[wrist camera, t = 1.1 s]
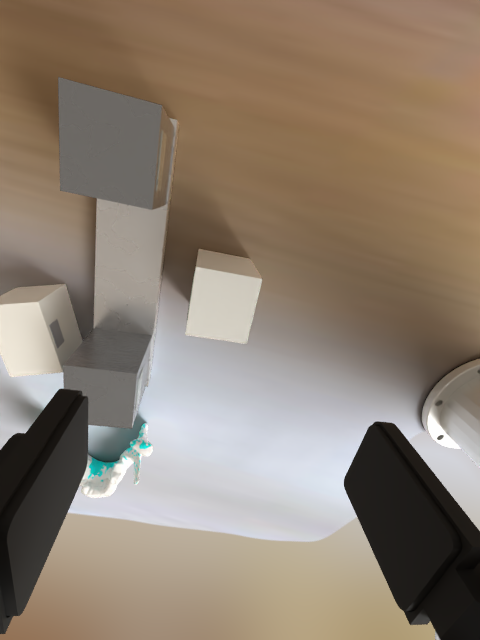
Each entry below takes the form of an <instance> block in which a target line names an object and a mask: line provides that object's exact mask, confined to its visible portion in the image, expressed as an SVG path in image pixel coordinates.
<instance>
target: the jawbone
mask: <svg viewBox="0 0 480 640" xmlns="http://www.w3.org/2000/svg"><path fill="white" fill-rule="evenodd" d="M147 430H148V424H146V423H144V424H143V425H142V426H141V430H140V432H139V436H138V439H135V440H132V441H131V442H130V446H131V447H130V448H128V449H126V450H125V451H124V452H123V454H122V455H121V456H120V459H119V460H118V461H115V462H102V461H98V460H96V459H94V458H93V457H91V456H90V455H88V462H87V467H86V471H85V473H84V476H83V478H82V480H81V483H80V486H82V489H81V492H82V493H83V494H84V495H86V496H88V497H92V498H99V497H104V496H105V497H108V496H110V495H111V494H112V493H113V492H114V491H115V489H116V487H117V484H118V483H119V482H120V481H121V480H122V478H123V476H124V474H125V473H126V469H127V468H128V467H129V466H130V465H131V464H132V463H133V462H134V484H135V485H136V484H138V482H139V472H140V462H141V457H142V455H143V456H149V455H150V454H151V453H152V451H153V446H152V444H151V443H150V442H149V441H148V438H147Z"/></svg>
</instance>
